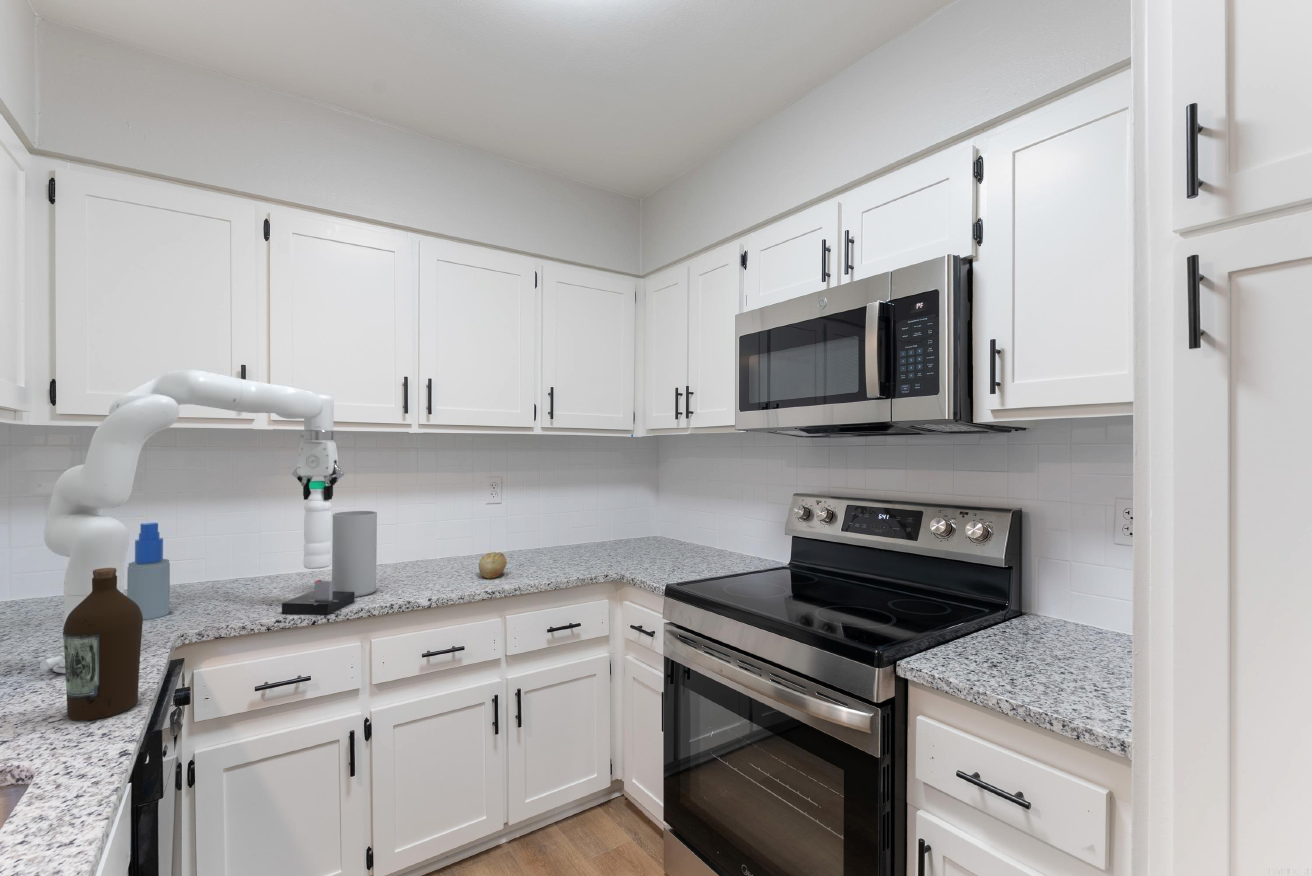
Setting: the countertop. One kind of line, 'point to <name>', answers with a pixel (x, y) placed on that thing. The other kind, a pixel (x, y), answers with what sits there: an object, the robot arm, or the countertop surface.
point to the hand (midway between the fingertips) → (318, 498)
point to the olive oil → (102, 651)
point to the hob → (317, 603)
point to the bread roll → (492, 565)
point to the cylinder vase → (354, 552)
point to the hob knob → (323, 591)
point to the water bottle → (317, 528)
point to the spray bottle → (149, 574)
